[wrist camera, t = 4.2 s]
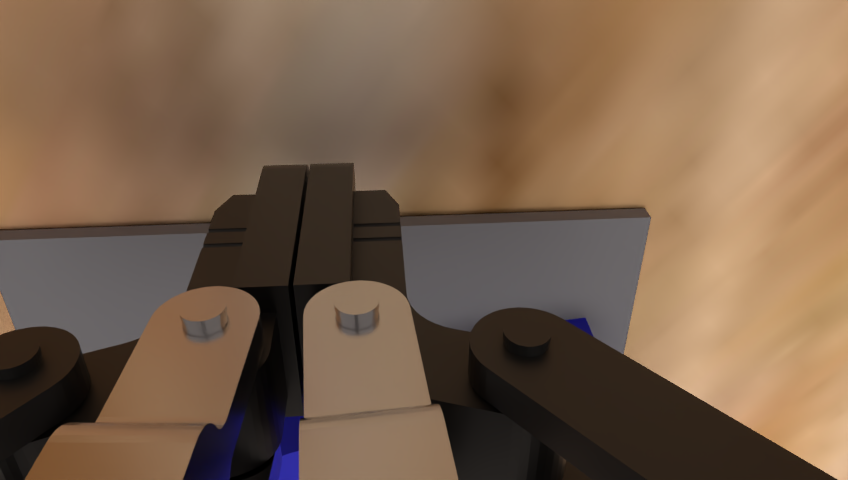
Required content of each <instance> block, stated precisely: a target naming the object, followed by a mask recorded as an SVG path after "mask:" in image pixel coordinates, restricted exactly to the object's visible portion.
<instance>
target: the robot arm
mask: <svg viewBox="0 0 848 480" xmlns="http://www.w3.org/2000/svg"><path fill="white" fill-rule="evenodd" d="M208 230H209V233H207V235H206V237H205V240H204V243H203V248H202V249H201V251H200V254H199V257H198V260H197V263H196V265H195V268H194V271H193V274H192V277H191V279H190V282H189V285H188V288H187V291H186V292H184V293H181V294H179V295H177V296H175V297H173V298H171V299H169V300H168V301H166V302H165V303H164V304H162V305H161V306H160V307H159V308H158V309H157V310H156V311H155V312H154V313H153V315H152V316H151V318H150V320H149V322H148V324H147V326H146V328H145V329H144V331H143V333H142V335H141V337H140V338H138V339H136V340H133V341H130V342H127V343H123V344H120V345H116V346H112V347H108V348H104V349H100V350H96V351H92V352H88V353H84V354H82V351H81V348H80V345H79V342H78V340H77V339H76V337H75V336H74V335H73V334H71V333H70V332H68V331H66V330H64V329H60V328H56V327H47V326H42V327H29V328H23V329H18V330H14V331H11V332H7V333H4V334H2V335H0V480H278V479H279V475H280V470H281V465H282V452H281V446H280V443H281V440H282V436H283V429H284V421H285V417H295V416H304V418H300V423H299V480H837V479H835V478H834V477H832V476H830V475H829V474H827V473H825V472H824V471H822V470H820V469H818V468H817V467H815V466H813V465H812V464H810V463H808V462H806V461H805V460H803V459H801V458H800V457H798V456H796V455H794V454H793V453H791V452H789V451H788V450H786V449H784V448H782V447H781V446H779V445H777V444H776V443H774V442H772V441H771V440H769V439H767V438H765V437H764V436H762V435H760V434H759V433H757V432H755V431H753V430H752V429H750V428H748V427H747V426H745V425H743V424H741V423H740V422H738V421H736V420H735V419H733V418H731V417H730V416H728V415H726V414H724V413H723V412H721V411H719V410H718V409H716V408H714V407H712V406H711V405H709V404H707V403H706V402H704V401H702V400H700V399H699V398H697V397H695V396H694V395H692V394H690V393H688V392H687V391H685V390H683V389H682V388H680V387H678V386H677V385H675V384H673V383H671V382H670V381H668V380H666V379H665V378H663V377H661V376H659V375H658V374H656V373H654V372H653V371H651V370H649V369H647V368H646V367H644V366H642V365H641V364H639V363H637V362H636V361H634V360H632V359H630V358H629V357H627V356H625V355H624V354H622V353H620V352H618V351H617V350H615V349H613V348H612V347H610V346H608V345H606V344H605V343H603V342H601V341H600V340H598V339H596V338H595V337H593V336H591V335H589V334H588V333H586V332H584V331H583V330H581V329H579V328H577V327H576V326H574V325H572V324H571V323H569V322H567V321H565V320H564V319H562V318H560V317H558V316H556V315H554V314H552V313H549V312H546V311H542V310H538V309H533V308H521V307H516V308H507V309H501V310H498V311H495V312H492V313H490V314H488V315H486V316H484V317H483V318H481V319H480V320H479V321H478V322H477V323H476V324H475V325H474V327H473V329H472V330H471V332H469V331H463V330H458V329H452V328H448V327H444V326H441V325H438V324H435V323H433V322H431V321H429V320H427V319H426V318H424V317H423V316H421V315H420V314H419V313H418V312H416V311H415V310H414V308H413V307H412V306H411V305H410V302H409V300H408V298H407V292H406V281H405V269H404V258H403V246H402V235H401V225H400V212H399V205H398V203H397V202H396V201H395V200H394V199H393V198H392V197H391V196H390V195H389V194H388V193H387V192H386V191H385V190H377V191H355V174H354V164H353V163H338V164H311V165H310V171H309V167H308V165H275V166H264V167H263V169H262V173H261V177H260V181H259V184H258V188H257V192H256V195H233V196H232V197H231V198H229V199H228V200H227V201H226V202H225V203H224V204H223V205H221V206H220V207H219V208H218V209H217V210H216V211H215V212H214V215H213V218H212V221H211V223H210V226H209V229H208Z"/></svg>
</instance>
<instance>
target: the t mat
mask: <svg viewBox="0 0 848 480" xmlns="http://www.w3.org/2000/svg"><path fill="white" fill-rule="evenodd" d="M650 220H651V217H650V215H649V214H648V212H647V211H646V209H645V208H638V209H609V210H580V211H551V212H522V213H493V214H464V215H435V216H406V217H400V225H401V235H402V246H403V258H404V269H405V281H406V292H407V298H408V300H409V302H410V305H411V306H412V307H413V308H414V310H415V311H416V312H418V313H419V314H420V315H421V316H423V317H424V318H426V319H427V320H429V321H431V322H433V323H435V324H438V325H441V326H444V327H448V328H452V329H458V330H463V331H469V332H471V330H472V329H473V327H474V325H475V324H476V323H477V322H478V321H479V320H480V319H481V318H483V317H484V316H486V315H488V314H490V313H492V312H495V311H498V310H501V309H507V308H516V307H521V308H533V309H538V310H542V311H546V312H549V313H552V314H554V315H556V316H558V317H560V318H562V319H564V320H569V319H578V318H586V320H587V322H588V325H589V327H590V329H591V332H592V334H593V336H594V337H595V338H596V339H598V340H600V341H601V342H603V343H605V344H606V345H608V346H610V347H612V348H613V349H615V350H617V351H618V352H620V353H622V354H624V349H625V344H626V339H627V334H628V329H629V324H630V319H631V314H632V309H633V304H634V299H635V294H636V289H637V284H638V279H639V274H640V269H641V264H642V259H643V255H644V250H645V245H646V240H647V235H648V230H649V225H650ZM209 226H210V223H203V224H174V225H145V226H116V227H87V228H58V229H29V230H0V291H1V294H2V296H3V299H4V301H5V304H6V307H7V309H8V312H9V314H10V317H11V319H12V322H13V324H14V327H15V330H18V329H23V328H29V327H42V326H47V327H56V328H60V329H64V330H66V331H68V332H70V333H71V334H73V335H74V336H75V337H76V339H77V340H78V342H79V345H80V348H81V351H82V354H84V353H88V352H92V351H96V350H100V349H104V348H108V347H112V346H116V345H120V344H123V343H127V342H130V341H133V340H136V339H138V338H140V337H141V335H142V333H143V331H144V329H145V328H146V326H147V324H148V322H149V320H150V318H151V316H152V315H153V313H154V312H155V311H156V310H157V309H158V308H159V307H160V306H161V305H162V304H164V303H165V302H166V301H168V300H169V299H171V298H173V297H175V296H177V295H179V294H181V293H184V292H186V291H187V288H188V285H189V282H190V279H191V277H192V274H193V271H194V268H195V265H196V263H197V260H198V257H199V254H200V251H201V249H202V248H203V243H204V240H205V237H206V235H207V233H209V230H208V229H209Z"/></svg>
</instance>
